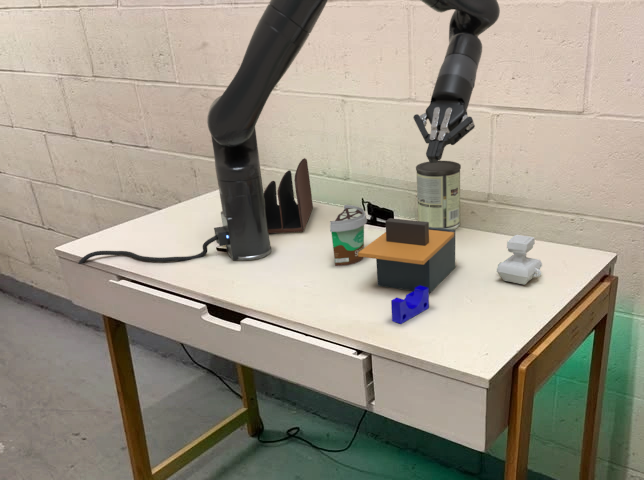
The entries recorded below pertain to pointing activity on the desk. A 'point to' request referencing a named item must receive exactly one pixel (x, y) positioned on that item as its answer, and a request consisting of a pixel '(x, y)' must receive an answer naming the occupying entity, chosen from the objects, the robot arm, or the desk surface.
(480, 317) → the desk surface
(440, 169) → the coffee can
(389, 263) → the bin
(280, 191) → the letter holder
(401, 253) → the lid
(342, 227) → the food container
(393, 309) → the cable holder
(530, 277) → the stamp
